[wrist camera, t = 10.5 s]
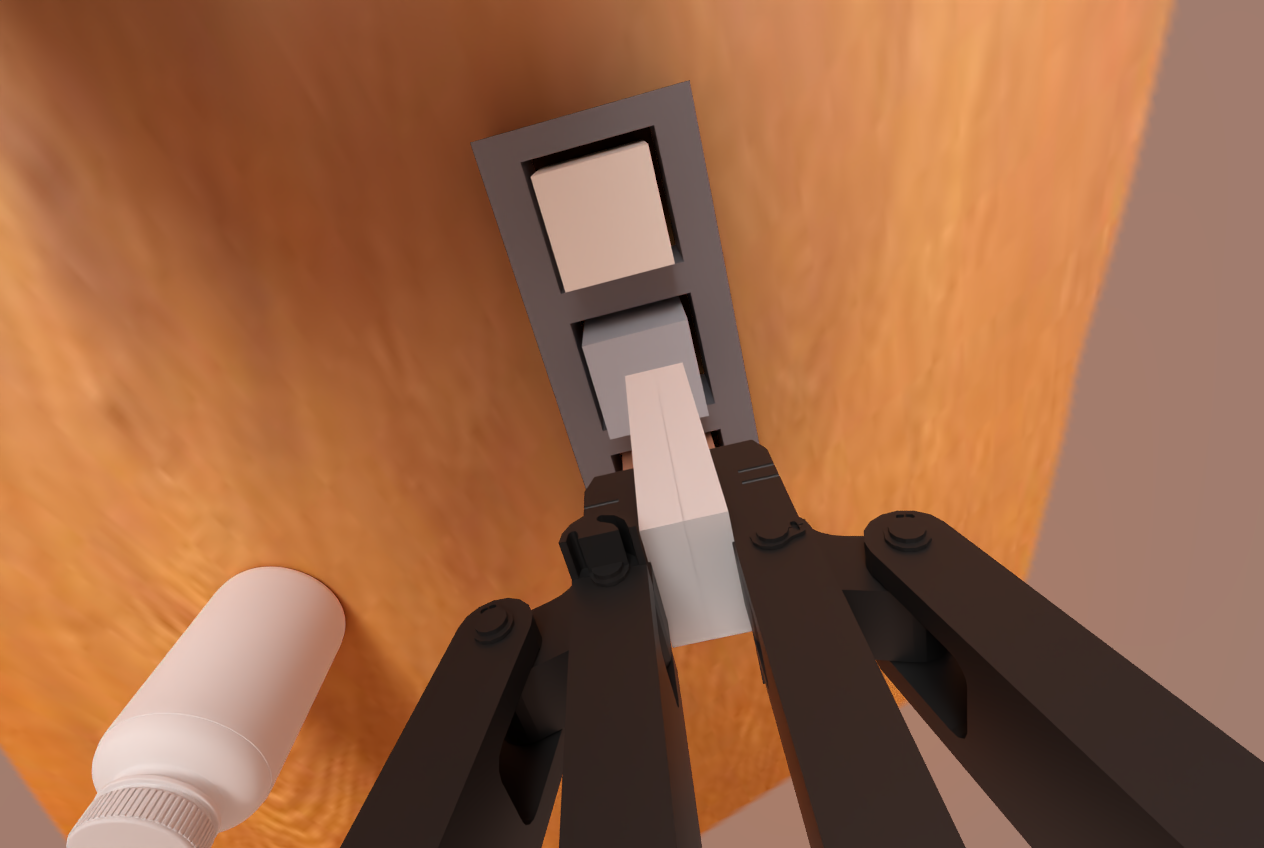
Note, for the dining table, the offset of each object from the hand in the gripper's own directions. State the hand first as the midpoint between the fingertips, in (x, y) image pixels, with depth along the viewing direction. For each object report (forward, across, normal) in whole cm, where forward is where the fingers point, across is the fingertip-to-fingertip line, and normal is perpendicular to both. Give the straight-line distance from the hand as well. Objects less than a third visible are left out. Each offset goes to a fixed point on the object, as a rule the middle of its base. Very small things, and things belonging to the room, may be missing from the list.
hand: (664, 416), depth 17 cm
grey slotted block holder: (+17, 0, -4) cm, 18 cm away
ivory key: (+16, -1, +3) cm, 16 cm away
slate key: (+16, -1, -4) cm, 16 cm away
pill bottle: (+17, -26, -16) cm, 35 cm away
